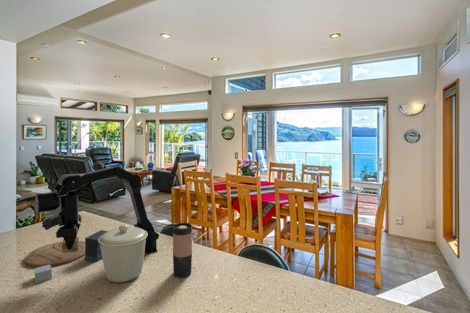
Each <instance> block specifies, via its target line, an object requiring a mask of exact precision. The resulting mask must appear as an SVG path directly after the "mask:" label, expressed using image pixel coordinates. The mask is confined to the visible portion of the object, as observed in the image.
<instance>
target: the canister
mask: <svg viewBox="0 0 470 313" xmlns="http://www.w3.org/2000/svg"><path fill="white" fill-rule="evenodd" d="M107 231H108V232H106V233H105V234H103V235H102V236H100V237H99V239H98V242H99V243H100V245H101V252H102V259H101V260H102V265H103V270H104V274H105V277H106V278H107V280H108V281H109V282H112V283H118V284H119V283H126V282H129V281H130V282H131V281H132V280H135V279H136V278H137V277H139V276H140V275H141V272H142V271H143V266H144V260H145V254H144V253H145V243H146V237H147V236H148V233H147V231H145V230H143V229H141V228H137V227H134V226H129V225H128V224H126V223H123V224H120V226H119V227H117V228H114V229H111V230H107Z"/></svg>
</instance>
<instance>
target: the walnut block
mask: <svg viewBox="0 0 470 313" xmlns="http://www.w3.org/2000/svg"><path fill="white" fill-rule="evenodd" d="M79 239H80V238H79V236H76V239H75V241H74V244H73V246H72V249H70V250H68V248H67V245H66V243H65V240H64V238H62V241H61V242H62V254H63V253H69V252H75V251H78V248H79V241H80V240H79Z"/></svg>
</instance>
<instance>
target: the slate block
mask: <svg viewBox="0 0 470 313" xmlns="http://www.w3.org/2000/svg"><path fill="white" fill-rule="evenodd" d="M33 269H34V282H35V284H38V283H42V282H46V281H50V280H52V278H53V276H52V275H53V274H52V273H53V272H52V267H51V266H50V264H49V265H46V266H42V267H38V268H35V267H33Z"/></svg>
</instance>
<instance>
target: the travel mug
mask: <svg viewBox="0 0 470 313" xmlns="http://www.w3.org/2000/svg"><path fill="white" fill-rule="evenodd" d="M192 227H193V226H192V224H191V223H187V222H180V223H176V224H174V225H173V226H172V240H173V241H172V259H173V260H172V262H173V263H172V266H173V267H172V268H173V276H174V277H175V278H178V279H181V278H187V277H189V276H191V274H192V265H193V263H192V260H193V257H192V256H193V228H192Z"/></svg>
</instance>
